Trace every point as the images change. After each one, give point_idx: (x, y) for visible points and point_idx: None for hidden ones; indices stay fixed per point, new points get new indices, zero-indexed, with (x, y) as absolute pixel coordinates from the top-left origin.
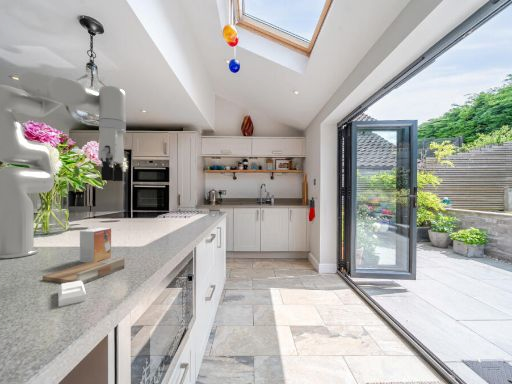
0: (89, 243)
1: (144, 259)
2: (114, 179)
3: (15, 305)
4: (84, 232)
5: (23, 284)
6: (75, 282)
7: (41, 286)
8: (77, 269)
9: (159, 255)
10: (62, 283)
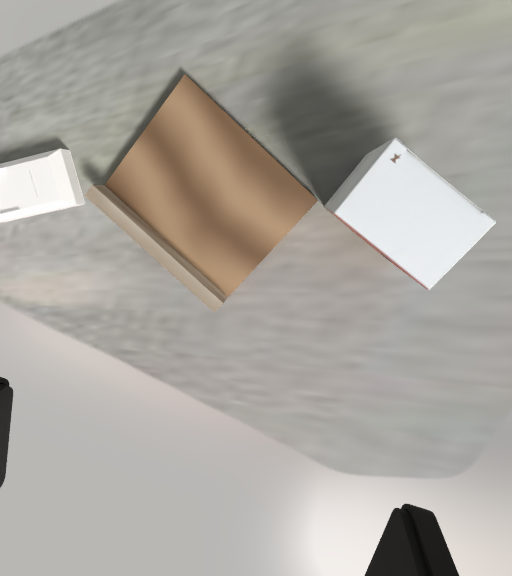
0: (342, 191)
1: (303, 367)
2: (393, 540)
3: (14, 73)
4: (371, 163)
5: (163, 32)
6: (48, 190)
7: (128, 93)
8: (221, 168)
9: (337, 418)
10: (48, 159)
